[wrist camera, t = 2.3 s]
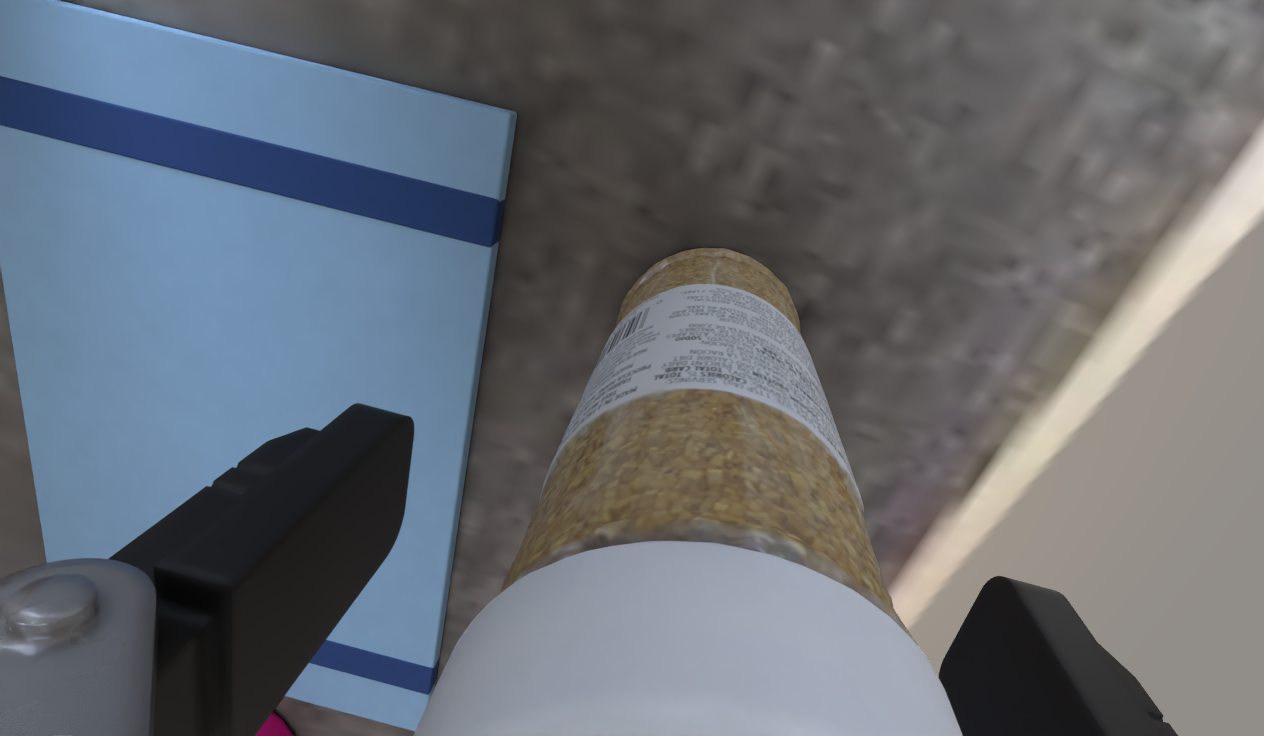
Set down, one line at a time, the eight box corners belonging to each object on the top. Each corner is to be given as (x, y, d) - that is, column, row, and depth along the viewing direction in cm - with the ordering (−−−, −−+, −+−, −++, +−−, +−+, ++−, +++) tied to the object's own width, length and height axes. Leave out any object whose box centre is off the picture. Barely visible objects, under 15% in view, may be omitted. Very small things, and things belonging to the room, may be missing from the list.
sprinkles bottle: (701, 446, 18) (663, 1225, 6) (579, 326, 17) (212, 932, 5) (840, 337, 16) (1215, 1084, 4) (714, 199, 16) (695, 606, 3)
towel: (-20, -19, 16) (-49, -24, 15) (518, 112, 15) (510, 112, 15) (72, 622, 24) (55, 636, 23) (431, 719, 23) (423, 735, 23)
